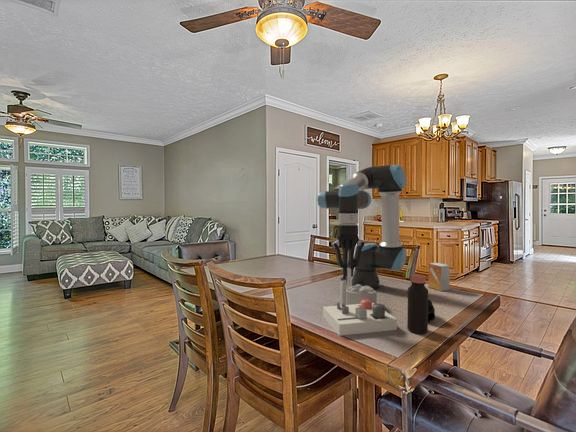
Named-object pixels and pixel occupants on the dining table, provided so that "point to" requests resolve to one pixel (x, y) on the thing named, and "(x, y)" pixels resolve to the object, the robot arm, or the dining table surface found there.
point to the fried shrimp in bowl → (430, 311)
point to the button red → (366, 304)
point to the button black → (378, 311)
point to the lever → (343, 291)
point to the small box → (439, 276)
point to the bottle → (417, 305)
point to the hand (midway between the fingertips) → (347, 284)
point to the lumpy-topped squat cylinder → (360, 294)
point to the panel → (356, 320)
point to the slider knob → (361, 312)
